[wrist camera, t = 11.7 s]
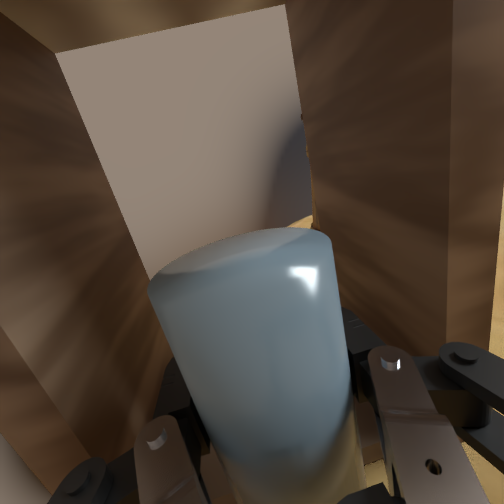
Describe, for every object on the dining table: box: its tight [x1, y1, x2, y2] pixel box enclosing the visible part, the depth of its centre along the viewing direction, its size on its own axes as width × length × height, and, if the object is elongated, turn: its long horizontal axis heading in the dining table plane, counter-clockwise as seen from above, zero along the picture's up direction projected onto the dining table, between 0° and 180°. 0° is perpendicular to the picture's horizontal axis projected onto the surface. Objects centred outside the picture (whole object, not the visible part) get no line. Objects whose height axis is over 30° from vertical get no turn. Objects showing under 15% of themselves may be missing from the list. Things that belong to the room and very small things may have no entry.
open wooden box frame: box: [0, 0, 504, 504], centre depth 16 cm, size 22×14×30 cm, turn 99°
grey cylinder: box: [147, 227, 367, 504], centre depth 9 cm, size 6×6×12 cm
